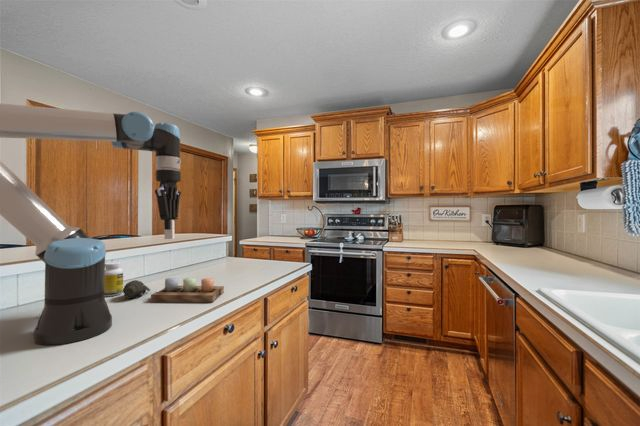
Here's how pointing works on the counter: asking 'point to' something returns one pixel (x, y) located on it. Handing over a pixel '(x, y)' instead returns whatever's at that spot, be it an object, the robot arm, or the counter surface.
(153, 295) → the wooden tray
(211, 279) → the terracotta button
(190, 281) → the sage button
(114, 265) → the pill bottle
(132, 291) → the hand grenade
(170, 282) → the grey cylinder
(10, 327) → the counter surface
